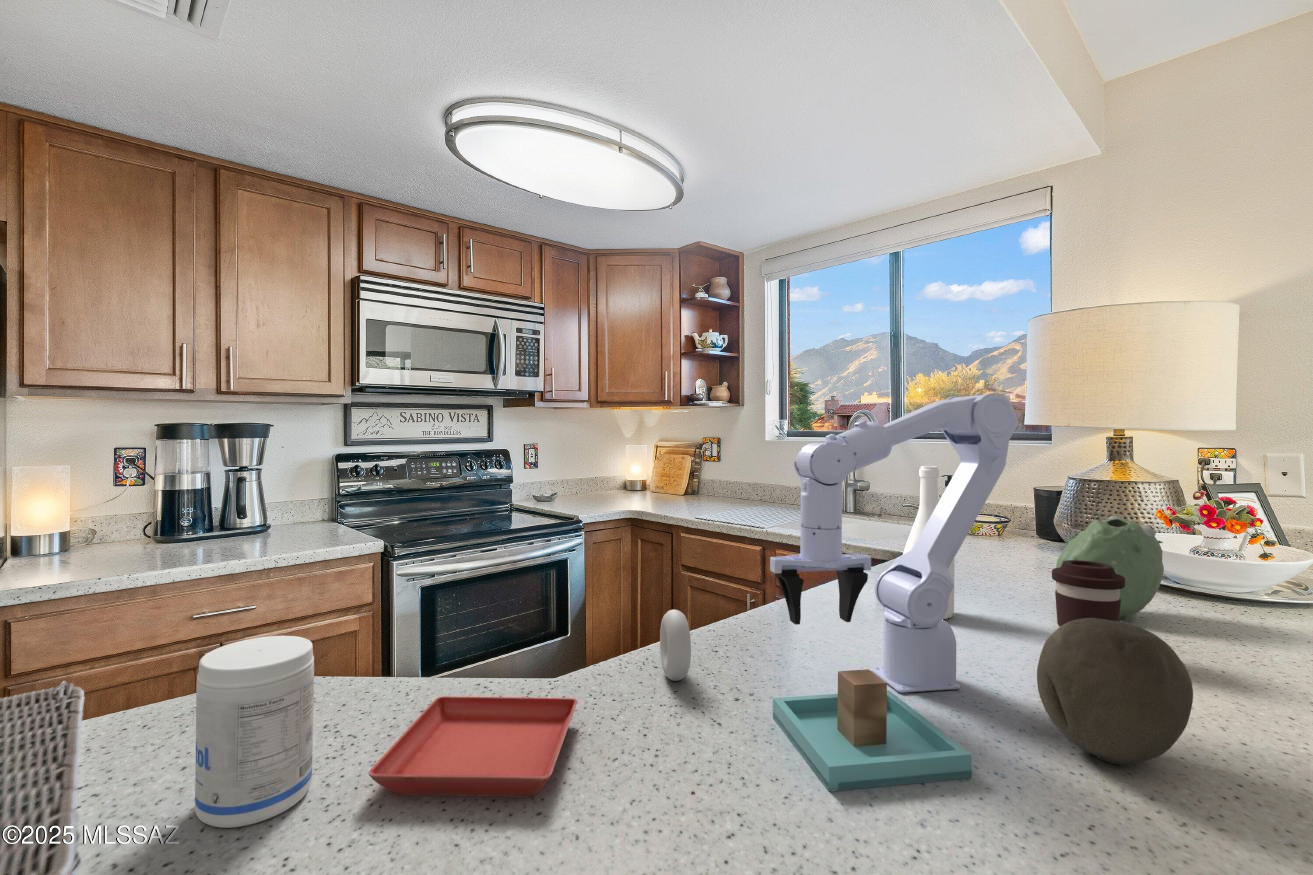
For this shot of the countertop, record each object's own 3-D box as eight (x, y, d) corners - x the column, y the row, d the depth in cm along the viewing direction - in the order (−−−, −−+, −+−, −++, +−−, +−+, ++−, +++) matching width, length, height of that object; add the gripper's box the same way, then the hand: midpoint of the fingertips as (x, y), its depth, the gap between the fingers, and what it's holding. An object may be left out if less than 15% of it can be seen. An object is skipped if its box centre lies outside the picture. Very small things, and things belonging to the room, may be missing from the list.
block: (868, 727, 72) (869, 669, 72) (886, 743, 68) (886, 682, 68) (837, 729, 72) (837, 671, 72) (853, 746, 68) (854, 684, 68)
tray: (888, 709, 79) (888, 690, 79) (971, 777, 63) (971, 754, 63) (772, 717, 76) (773, 697, 76) (828, 791, 61) (829, 766, 61)
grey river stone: (1208, 806, 58) (1209, 653, 58) (1036, 763, 66) (1038, 627, 66) (1178, 744, 70) (1179, 616, 70) (1035, 713, 78) (1037, 598, 78)
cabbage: (1036, 607, 127) (1037, 513, 127) (1108, 602, 131) (1109, 511, 131) (1107, 630, 112) (1108, 523, 112) (1186, 624, 116) (1187, 521, 116)
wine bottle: (963, 621, 117) (964, 467, 117) (914, 621, 117) (915, 467, 117) (940, 607, 126) (941, 465, 126) (895, 607, 126) (896, 464, 126)
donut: (693, 691, 84) (694, 620, 84) (669, 693, 83) (669, 621, 83) (679, 664, 94) (680, 600, 94) (657, 665, 93) (658, 601, 93)
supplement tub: (183, 803, 58) (184, 651, 58) (292, 762, 65) (293, 627, 65) (211, 848, 52) (212, 678, 52) (329, 798, 59) (329, 648, 59)
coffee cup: (1058, 659, 97) (1059, 567, 97) (1045, 640, 106) (1045, 555, 106) (1133, 668, 93) (1134, 572, 93) (1112, 648, 103) (1113, 560, 103)
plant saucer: (437, 719, 76) (437, 693, 76) (578, 722, 76) (578, 695, 76) (364, 808, 58) (364, 774, 58) (550, 812, 57) (550, 778, 57)
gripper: (783, 531, 81) (782, 632, 81) (882, 529, 83) (881, 627, 83) (765, 524, 88) (764, 616, 88) (857, 522, 90) (856, 612, 90)
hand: (820, 621), depth 86 cm, fingers open, 7 cm apart
